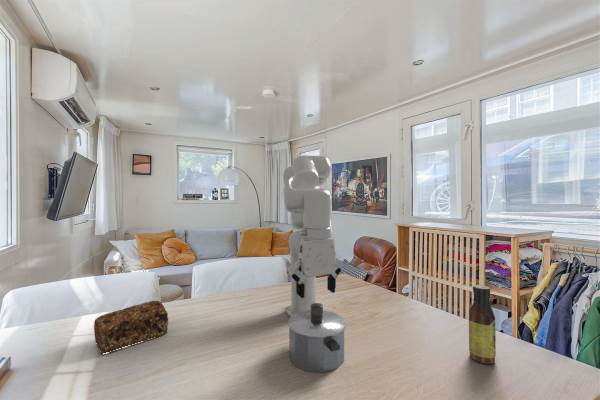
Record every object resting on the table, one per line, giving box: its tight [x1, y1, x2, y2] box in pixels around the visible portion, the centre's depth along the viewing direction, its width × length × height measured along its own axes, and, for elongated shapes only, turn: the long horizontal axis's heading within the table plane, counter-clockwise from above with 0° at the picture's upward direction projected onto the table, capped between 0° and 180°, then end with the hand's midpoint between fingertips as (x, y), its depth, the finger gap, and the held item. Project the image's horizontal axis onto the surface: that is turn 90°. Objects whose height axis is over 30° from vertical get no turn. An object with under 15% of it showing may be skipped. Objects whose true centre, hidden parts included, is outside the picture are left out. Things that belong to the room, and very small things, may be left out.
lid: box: [287, 302, 346, 338], centre depth 81 cm, size 16×16×5 cm
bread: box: [93, 300, 169, 355], centre depth 90 cm, size 19×11×10 cm, turn 134°
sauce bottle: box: [468, 284, 497, 365], centre depth 79 cm, size 6×6×20 cm
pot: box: [288, 327, 345, 374], centre depth 81 cm, size 20×15×9 cm
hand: (316, 293), depth 81 cm, fingers open, 9 cm apart
